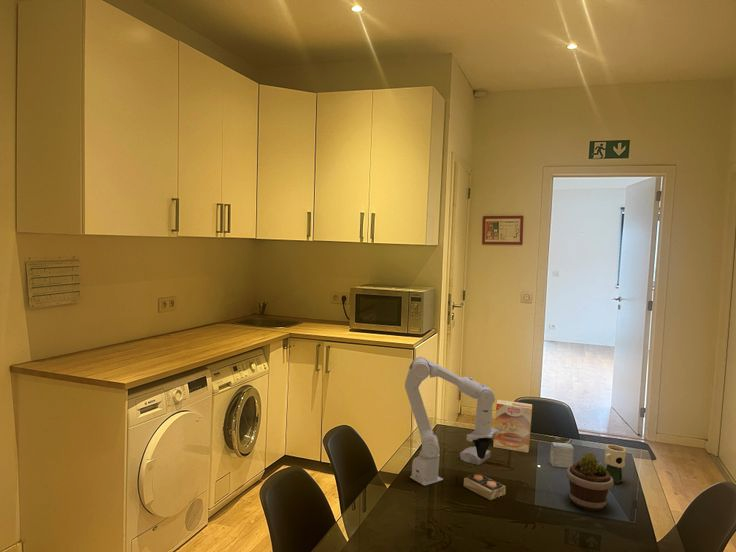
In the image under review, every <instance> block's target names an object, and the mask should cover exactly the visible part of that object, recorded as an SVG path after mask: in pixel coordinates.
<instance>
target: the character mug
mask: <svg viewBox="0 0 736 552" xmlns="http://www.w3.org/2000/svg"><path fill="white" fill-rule="evenodd" d="M604 452H605V453H604V463H606V466H605V469H606V470H607V471H608V472H609V474H610V476H611V477H612V478H613V483H614V484H620V482H621V483H623V468H624V467H625V465H626V455H627V449H626V448H625V447H624V446H621V445H618V444H606V445H605V451H604Z"/></svg>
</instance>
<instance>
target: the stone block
mask: <svg viewBox="0 0 736 552" xmlns="http://www.w3.org/2000/svg"><path fill="white" fill-rule="evenodd" d="M491 452H492V451H491V450H488V449H487V451H486V454H485V457H484V458H483V459H481V458H479V457H478V456H477V450H476V446H469V447H467V448H464V449H463V450H462V451H461V452H459V458H460V460H461V461H463V462H466V463H470V464H474V465H475V466H480V465H482V464H483V463H484V462H486V461H488V460H489V459H491V455H492V454H491Z"/></svg>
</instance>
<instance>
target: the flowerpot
mask: <svg viewBox="0 0 736 552" xmlns="http://www.w3.org/2000/svg"><path fill="white" fill-rule="evenodd" d="M566 469H567V470H566V471H565V472H566V477H567V479H568V480H569V488H570V489H569V491H568V493H569V497H570V498H569V499H571V502H572V503H573V504H574V505H575V506H577V507H579V508H582V509H585V510H587V511H595V512H596V511H601V510H603V509H604V507H605V506H606V505H607V504H608V498H607V496H608V493H609V490H610V489H611V488H613V486H614V485H615V483H613V478H612V477H611V476H610V474H609V472H608V471H607V470H606V464H604V465H602V462H600V463H599V460H598V459H597V458H596V454H595V451H594V452H592V451H591V450H590V451H586V453H584V454H583V455H582V456H580V457H579V459H578V462H576V463H574V464H573V465H572V466H571V467H569V468H566Z"/></svg>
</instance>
